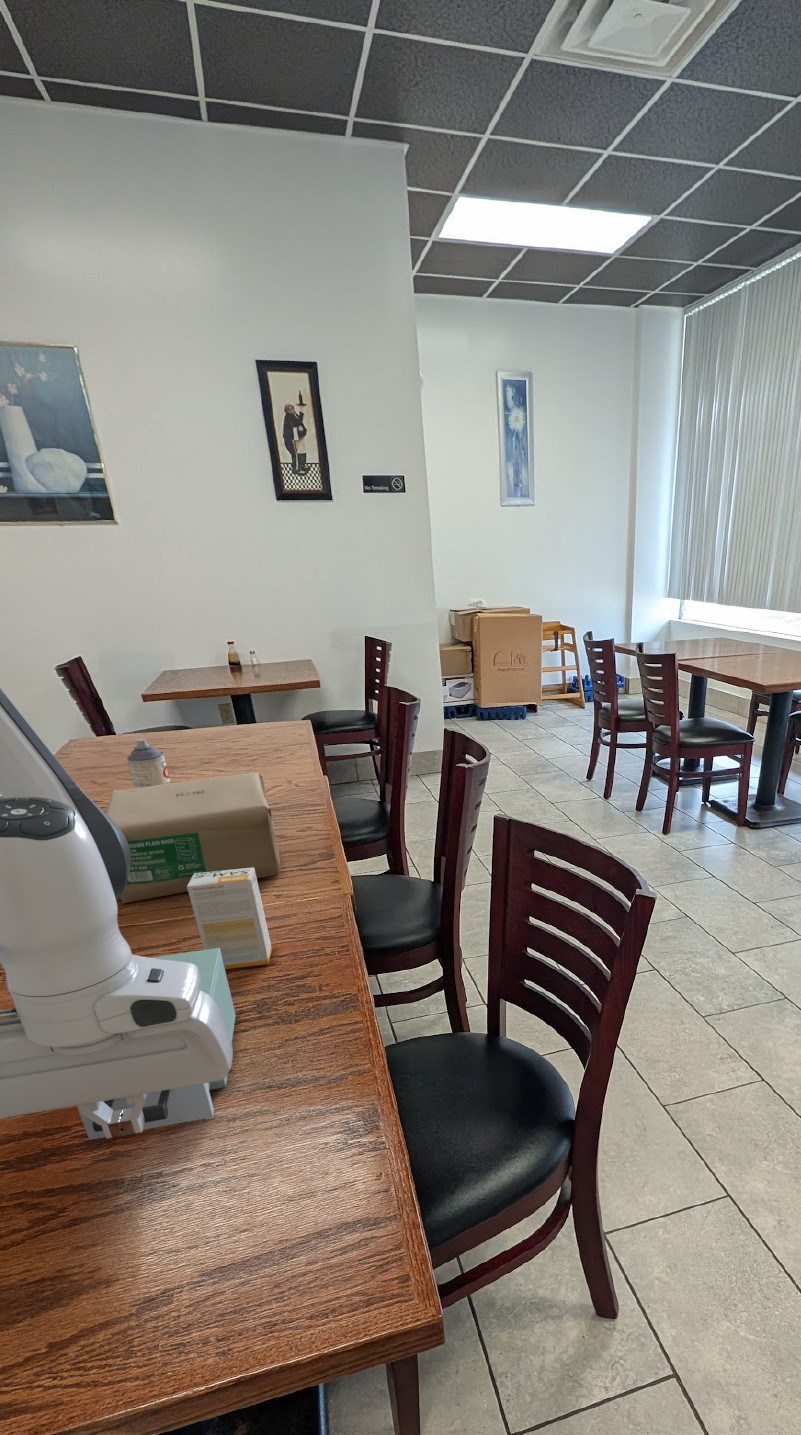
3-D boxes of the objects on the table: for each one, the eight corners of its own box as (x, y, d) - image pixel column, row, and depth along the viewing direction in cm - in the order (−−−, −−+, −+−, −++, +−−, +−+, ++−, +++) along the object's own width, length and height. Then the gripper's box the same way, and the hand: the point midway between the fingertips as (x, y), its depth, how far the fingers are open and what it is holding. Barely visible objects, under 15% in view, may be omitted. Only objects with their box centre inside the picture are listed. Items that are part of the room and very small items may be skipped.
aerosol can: (186, 836, 156) (163, 740, 147) (151, 844, 152) (125, 745, 143) (178, 828, 161) (155, 734, 152) (144, 835, 157) (118, 739, 149)
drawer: (207, 1150, 71) (189, 1084, 68) (76, 1176, 69) (49, 1109, 65) (224, 1041, 87) (210, 983, 84) (118, 1059, 85) (98, 1000, 81)
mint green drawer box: (226, 1086, 81) (206, 1011, 77) (99, 1109, 78) (71, 1033, 74) (235, 1015, 94) (219, 947, 90) (126, 1032, 91) (105, 963, 87)
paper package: (119, 907, 124) (95, 827, 118) (129, 856, 146) (110, 786, 140) (286, 879, 133) (272, 803, 127) (273, 835, 155) (260, 768, 148)
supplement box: (273, 949, 109) (256, 865, 103) (269, 965, 105) (251, 879, 99) (213, 955, 108) (193, 871, 102) (207, 972, 104) (185, 885, 98)
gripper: (-82, 1043, 56) (-17, 1181, 62) (208, 998, 60) (242, 1132, 66) (-47, 999, 61) (9, 1130, 68) (216, 961, 66) (246, 1088, 72)
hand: (126, 1131), depth 67 cm, fingers closed, pressing on drawer
